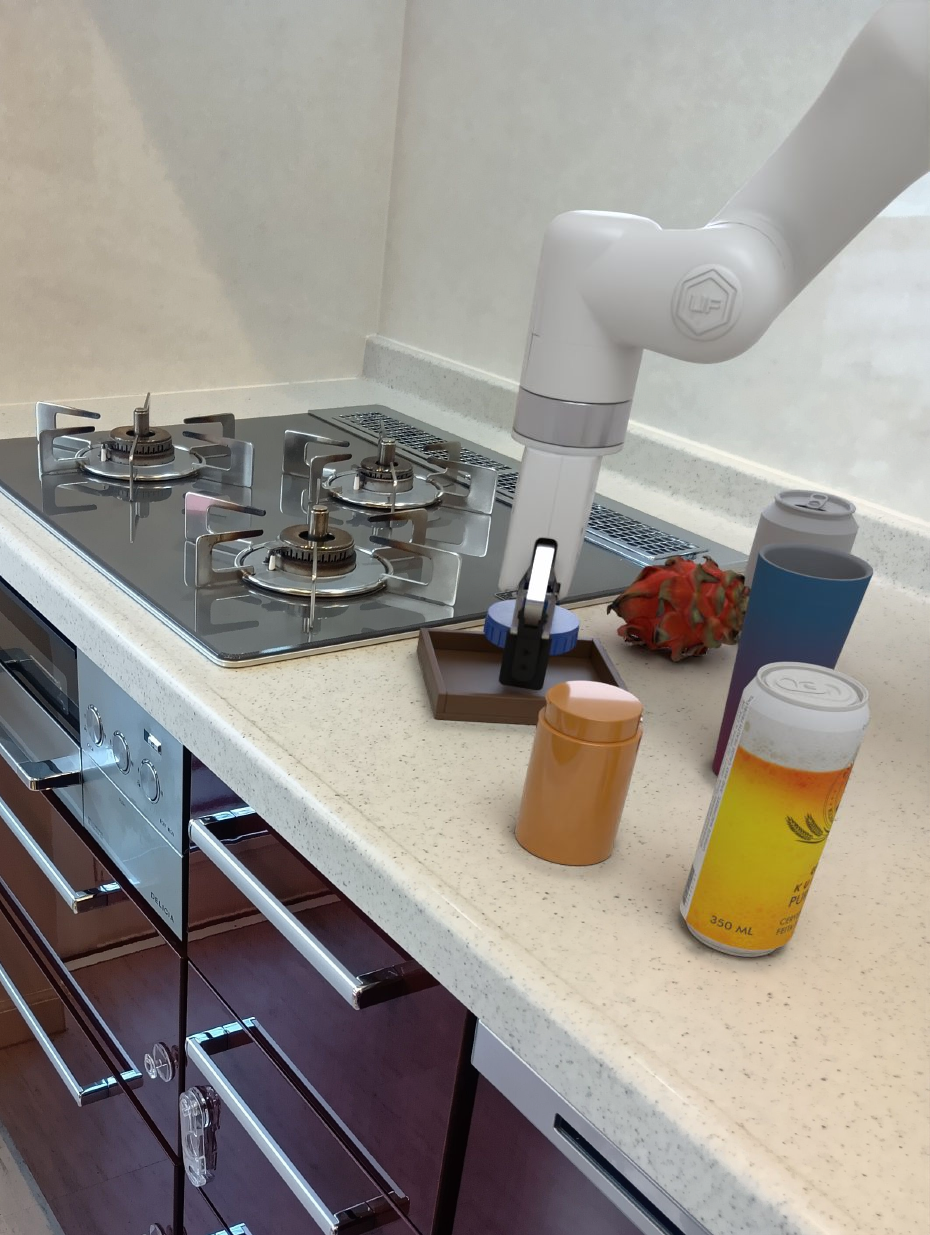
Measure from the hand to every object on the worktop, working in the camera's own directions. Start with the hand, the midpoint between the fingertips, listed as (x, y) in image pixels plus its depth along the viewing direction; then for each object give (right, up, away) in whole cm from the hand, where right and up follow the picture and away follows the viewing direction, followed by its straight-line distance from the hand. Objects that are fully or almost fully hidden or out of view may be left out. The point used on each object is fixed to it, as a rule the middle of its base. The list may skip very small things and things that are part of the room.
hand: (525, 664), depth 97 cm
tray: (0, -2, +1) cm, 2 cm away
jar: (-1, -14, -17) cm, 22 cm away
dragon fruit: (+14, +2, +9) cm, 17 cm away
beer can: (+7, -19, -24) cm, 32 cm away
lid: (0, +3, -2) cm, 3 cm away
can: (+24, +4, +13) cm, 27 cm away
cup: (+14, -9, -8) cm, 18 cm away
